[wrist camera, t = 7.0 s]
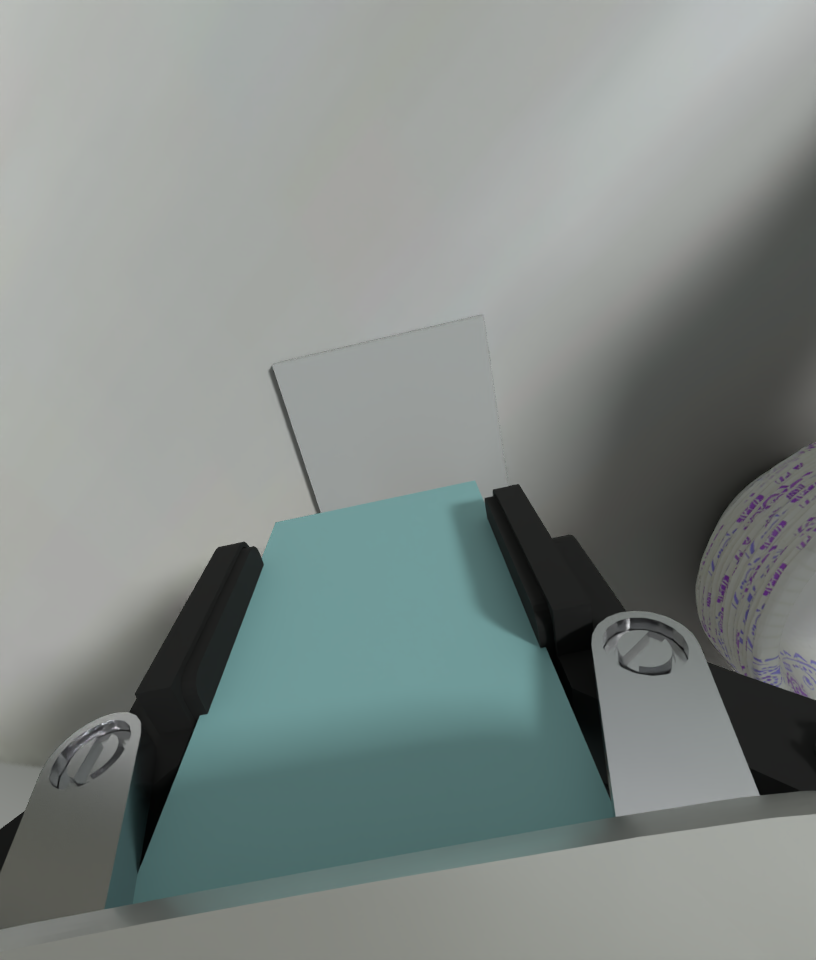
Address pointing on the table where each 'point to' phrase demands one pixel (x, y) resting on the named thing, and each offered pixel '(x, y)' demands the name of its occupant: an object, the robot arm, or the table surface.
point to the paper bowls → (766, 578)
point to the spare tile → (374, 707)
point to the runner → (397, 415)
